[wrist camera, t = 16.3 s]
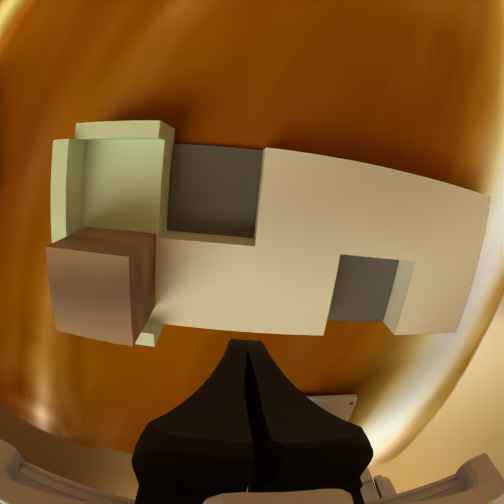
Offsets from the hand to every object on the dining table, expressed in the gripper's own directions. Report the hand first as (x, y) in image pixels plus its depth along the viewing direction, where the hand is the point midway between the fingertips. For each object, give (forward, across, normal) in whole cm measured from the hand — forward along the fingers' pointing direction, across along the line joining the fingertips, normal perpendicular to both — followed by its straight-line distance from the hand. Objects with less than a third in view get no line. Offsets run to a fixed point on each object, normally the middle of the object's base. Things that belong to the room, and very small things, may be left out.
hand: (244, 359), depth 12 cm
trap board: (+10, -4, -3) cm, 11 cm away
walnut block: (+7, +8, -1) cm, 11 cm away
